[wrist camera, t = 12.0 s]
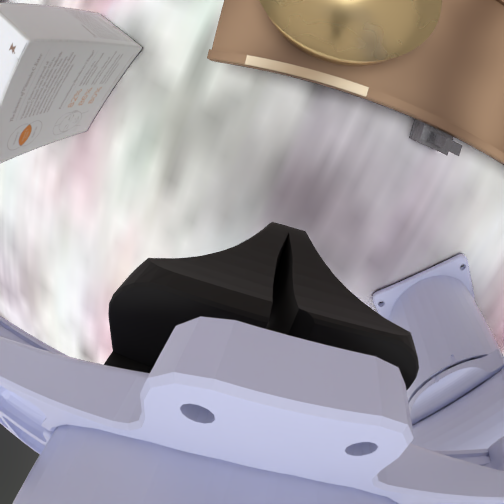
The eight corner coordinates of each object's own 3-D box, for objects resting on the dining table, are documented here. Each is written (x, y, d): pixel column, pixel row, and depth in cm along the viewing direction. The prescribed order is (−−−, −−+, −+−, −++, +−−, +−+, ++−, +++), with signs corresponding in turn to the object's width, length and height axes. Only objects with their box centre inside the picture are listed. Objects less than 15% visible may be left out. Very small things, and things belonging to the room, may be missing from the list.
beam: (599, 95, 8) (612, 98, 7) (568, 210, 13) (581, 220, 12) (256, -78, 10) (250, -91, 8) (216, 61, 15) (206, 58, 13)
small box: (100, 12, 16) (-12, -3, 7) (146, 48, 17) (29, 37, 8) (49, 94, 19) (-56, 120, 10) (87, 133, 21) (-22, 175, 11)
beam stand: (472, -9, 11) (503, -24, 7) (435, 149, 17) (464, 165, 13) (446, -23, 11) (474, -43, 7) (409, 137, 17) (433, 150, 13)
